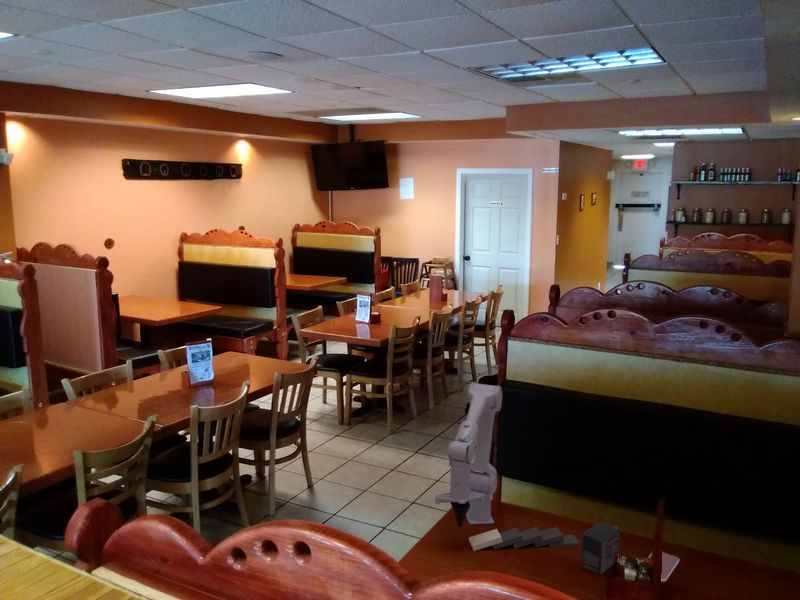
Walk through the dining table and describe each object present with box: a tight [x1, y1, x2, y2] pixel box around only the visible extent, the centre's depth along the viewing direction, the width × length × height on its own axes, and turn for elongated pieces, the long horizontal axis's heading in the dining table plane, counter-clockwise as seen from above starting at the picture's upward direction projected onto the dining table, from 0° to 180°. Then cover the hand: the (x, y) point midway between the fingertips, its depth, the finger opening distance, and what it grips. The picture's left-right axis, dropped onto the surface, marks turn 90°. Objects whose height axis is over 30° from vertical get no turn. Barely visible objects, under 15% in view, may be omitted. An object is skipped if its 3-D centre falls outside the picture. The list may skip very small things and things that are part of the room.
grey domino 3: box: [548, 534, 581, 548], centre depth 198 cm, size 2×5×9 cm
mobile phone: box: [647, 551, 680, 582], centre depth 185 cm, size 8×1×15 cm
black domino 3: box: [511, 526, 543, 550], centre depth 196 cm, size 2×5×9 cm
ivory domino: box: [468, 528, 503, 552], centre depth 195 cm, size 2×5×9 cm
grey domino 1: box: [491, 527, 523, 551], centre depth 196 cm, size 2×5×9 cm
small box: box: [581, 521, 621, 576], centre depth 185 cm, size 11×6×10 cm, turn 134°
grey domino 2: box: [532, 526, 564, 549], centre depth 197 cm, size 2×5×9 cm
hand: (459, 525), depth 193 cm, fingers closed
